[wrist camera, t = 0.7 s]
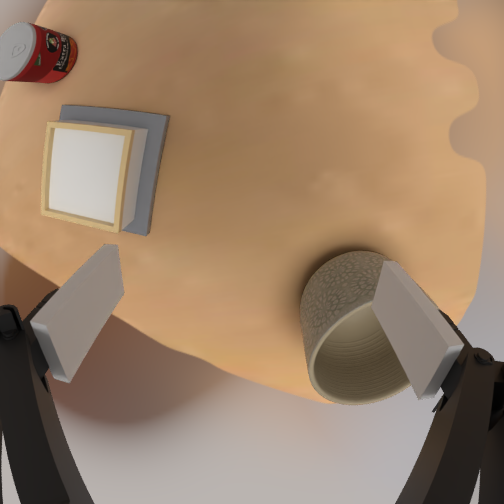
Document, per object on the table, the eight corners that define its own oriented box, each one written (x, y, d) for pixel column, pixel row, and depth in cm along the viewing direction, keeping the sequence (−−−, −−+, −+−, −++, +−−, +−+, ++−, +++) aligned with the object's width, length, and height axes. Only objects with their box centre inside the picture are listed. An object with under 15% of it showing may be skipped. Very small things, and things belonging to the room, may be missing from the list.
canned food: (80, 72, 31) (33, 64, 21) (39, 91, 32) (-10, 91, 22) (78, 27, 28) (34, 10, 18) (37, 48, 29) (-9, 39, 18)
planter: (352, 213, 40) (400, 262, 26) (416, 282, 44) (464, 340, 30) (269, 297, 45) (276, 372, 31) (342, 349, 49) (365, 418, 35)
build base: (67, 105, 33) (38, 105, 27) (169, 116, 34) (152, 114, 28) (56, 210, 39) (30, 225, 33) (149, 232, 41) (132, 252, 34)
